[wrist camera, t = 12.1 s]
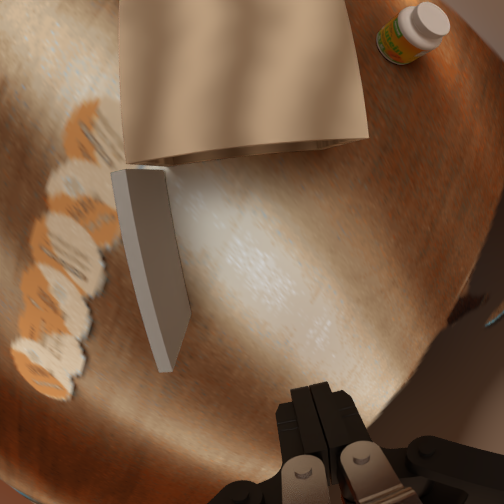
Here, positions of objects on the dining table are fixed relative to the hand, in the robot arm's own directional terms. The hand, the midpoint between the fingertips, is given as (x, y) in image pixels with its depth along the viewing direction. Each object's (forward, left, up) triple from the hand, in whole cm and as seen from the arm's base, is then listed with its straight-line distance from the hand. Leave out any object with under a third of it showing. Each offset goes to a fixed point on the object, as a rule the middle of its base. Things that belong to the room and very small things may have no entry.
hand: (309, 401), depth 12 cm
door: (-11, +2, -24) cm, 27 cm away
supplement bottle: (+19, +24, -25) cm, 39 cm away
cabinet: (-1, +19, -25) cm, 31 cm away
